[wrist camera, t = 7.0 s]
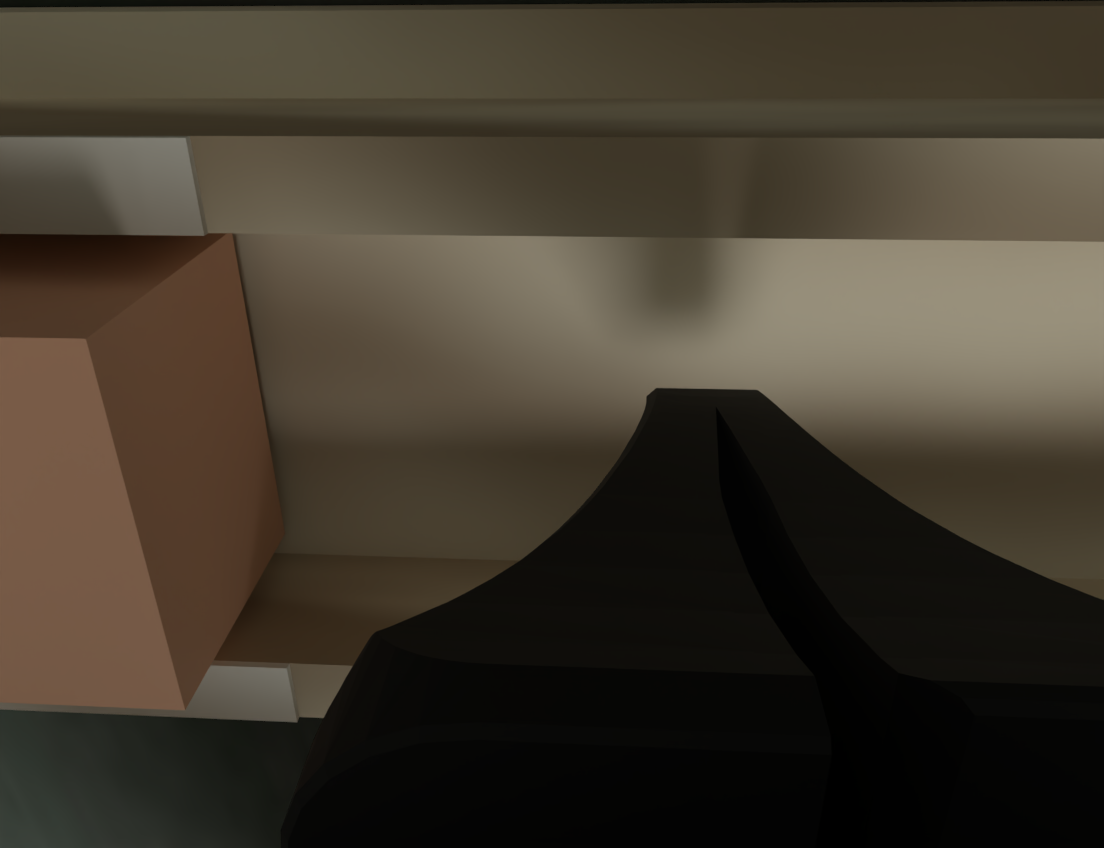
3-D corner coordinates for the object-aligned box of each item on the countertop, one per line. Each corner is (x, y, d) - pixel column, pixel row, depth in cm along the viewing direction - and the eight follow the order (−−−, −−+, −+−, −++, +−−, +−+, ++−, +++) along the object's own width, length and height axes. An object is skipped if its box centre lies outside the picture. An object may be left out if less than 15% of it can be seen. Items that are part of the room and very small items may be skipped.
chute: (1141, 640, 16) (1292, 843, 12) (-382, 585, 17) (-636, 749, 14) (1383, -2, 11) (1743, 26, 7) (-730, 12, 13) (-1249, 38, 9)
